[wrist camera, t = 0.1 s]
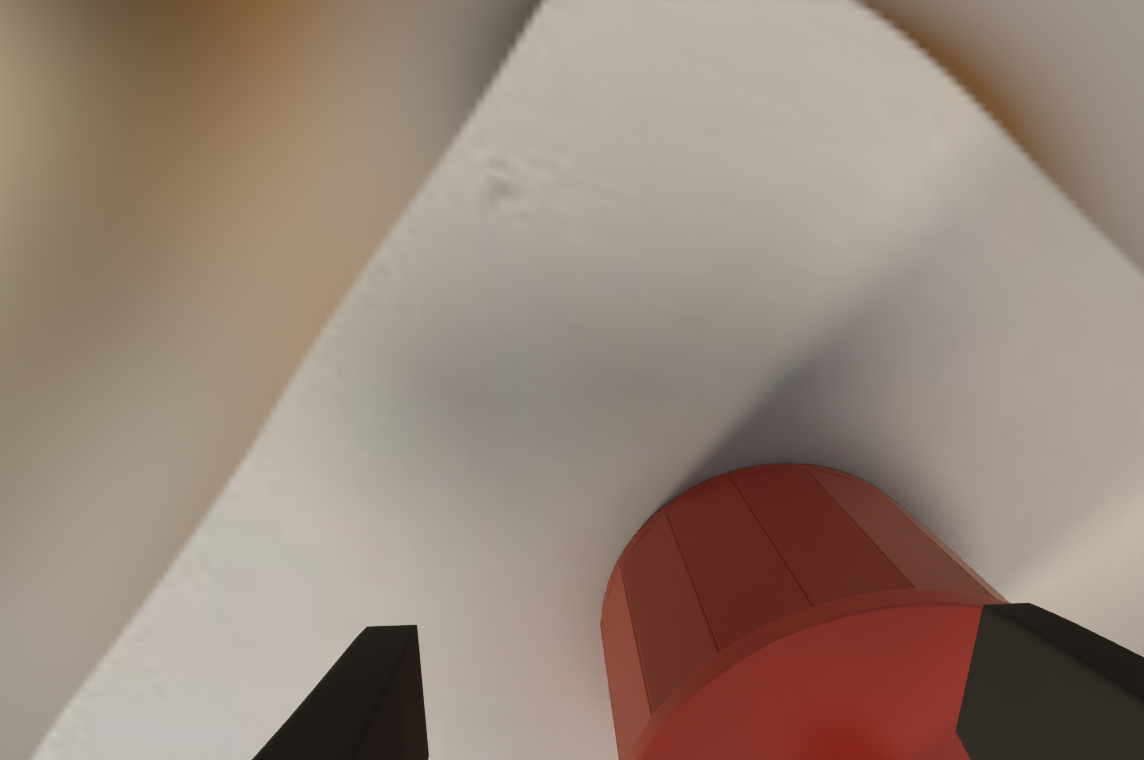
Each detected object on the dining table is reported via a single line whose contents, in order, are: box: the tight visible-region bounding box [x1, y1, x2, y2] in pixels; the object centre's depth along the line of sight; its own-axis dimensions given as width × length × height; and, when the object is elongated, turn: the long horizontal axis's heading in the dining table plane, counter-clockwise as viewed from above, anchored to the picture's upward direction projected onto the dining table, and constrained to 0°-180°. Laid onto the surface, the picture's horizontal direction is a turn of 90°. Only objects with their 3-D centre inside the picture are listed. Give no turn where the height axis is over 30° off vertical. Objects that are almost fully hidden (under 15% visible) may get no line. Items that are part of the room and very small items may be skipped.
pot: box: [600, 463, 1009, 760], centre depth 17 cm, size 10×10×6 cm
